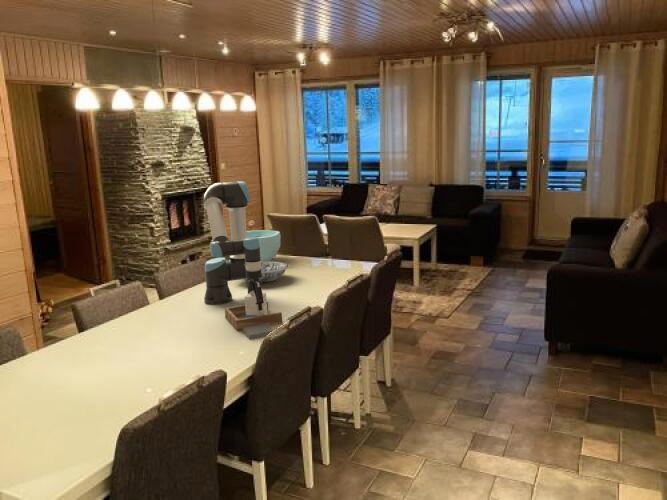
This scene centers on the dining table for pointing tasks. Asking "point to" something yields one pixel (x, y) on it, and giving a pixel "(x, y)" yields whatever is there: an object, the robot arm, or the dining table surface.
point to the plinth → (257, 330)
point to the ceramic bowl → (272, 270)
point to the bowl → (267, 243)
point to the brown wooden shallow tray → (237, 323)
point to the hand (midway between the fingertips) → (256, 313)
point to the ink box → (254, 305)
